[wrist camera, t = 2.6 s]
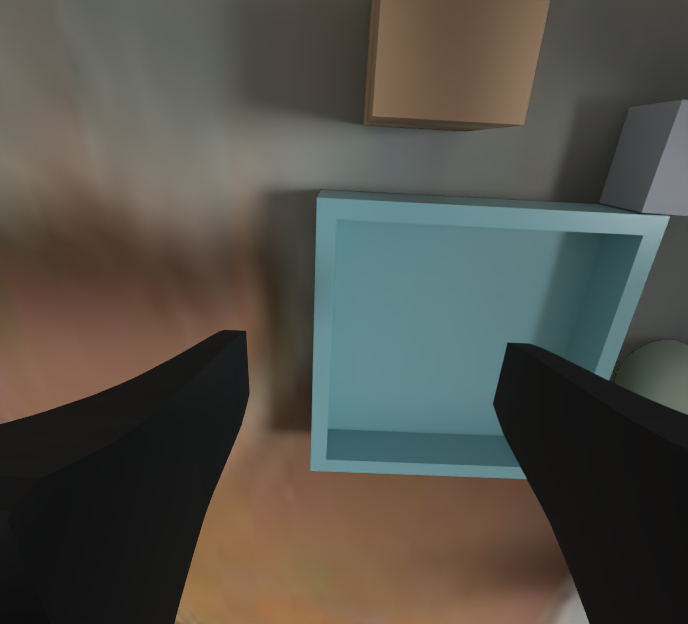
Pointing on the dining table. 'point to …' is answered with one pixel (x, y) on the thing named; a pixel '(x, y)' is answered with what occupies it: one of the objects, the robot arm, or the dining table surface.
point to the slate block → (651, 161)
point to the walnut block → (452, 62)
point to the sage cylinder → (658, 373)
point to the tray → (457, 318)
